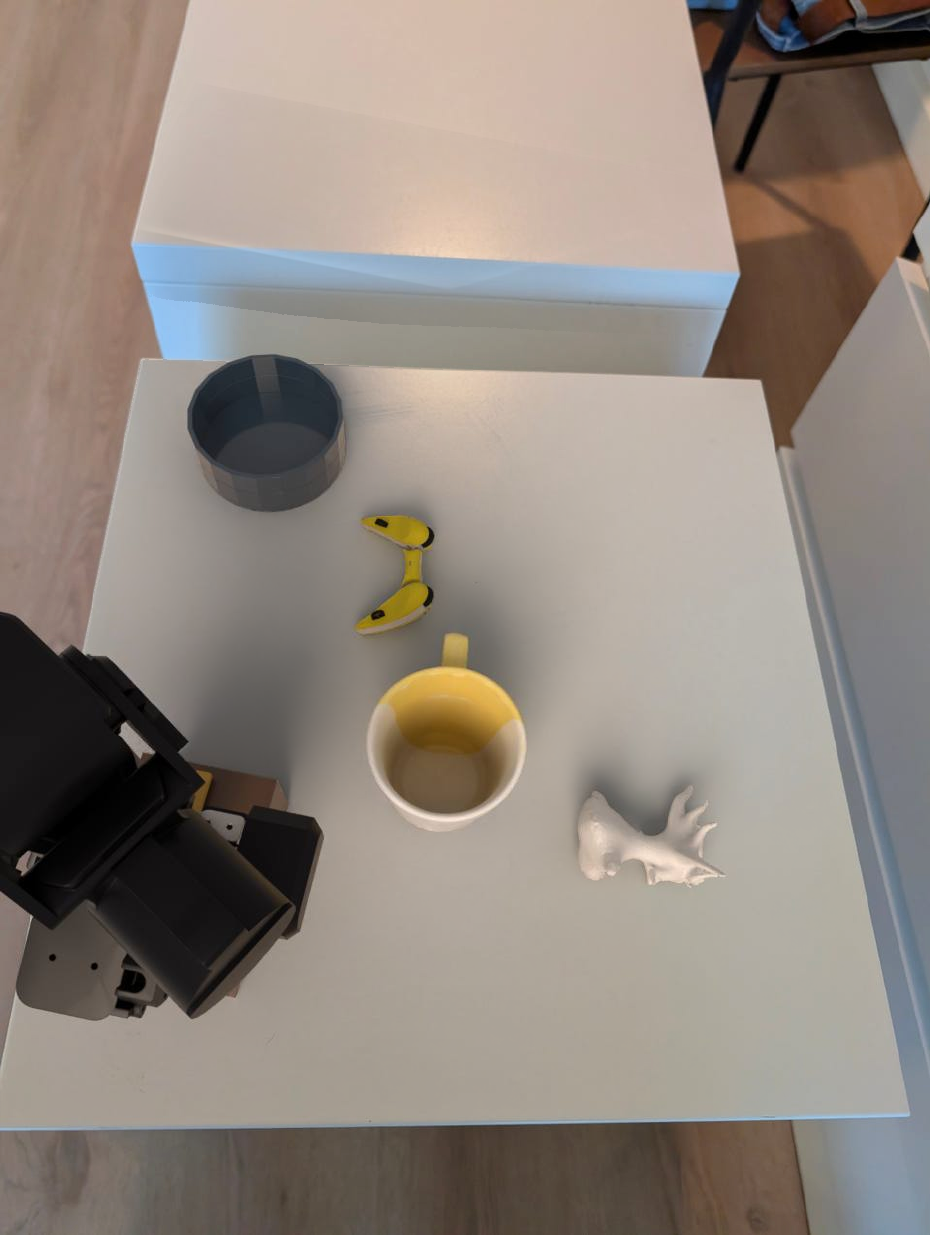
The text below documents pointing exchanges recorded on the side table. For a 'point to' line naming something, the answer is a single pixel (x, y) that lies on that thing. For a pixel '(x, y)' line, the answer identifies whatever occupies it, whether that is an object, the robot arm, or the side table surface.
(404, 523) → the game controller
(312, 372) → the bowl
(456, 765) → the mug
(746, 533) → the side table surface
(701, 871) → the figurine
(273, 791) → the stand
